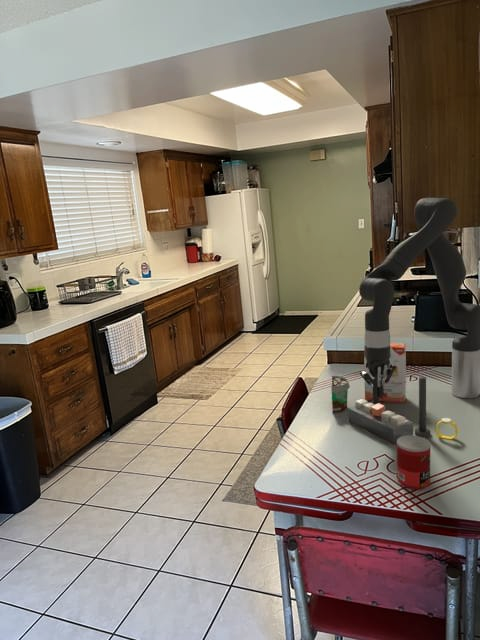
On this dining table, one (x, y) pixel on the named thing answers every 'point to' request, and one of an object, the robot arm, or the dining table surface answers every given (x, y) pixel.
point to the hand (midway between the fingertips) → (378, 396)
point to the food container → (339, 393)
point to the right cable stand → (422, 410)
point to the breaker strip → (379, 422)
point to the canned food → (413, 462)
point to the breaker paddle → (378, 409)
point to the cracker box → (397, 382)
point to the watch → (446, 421)
